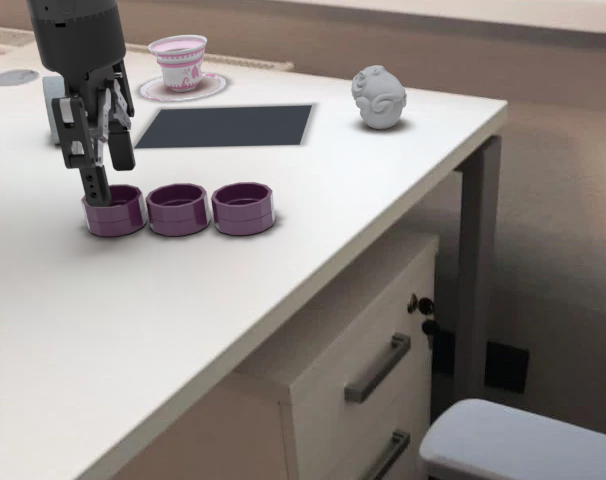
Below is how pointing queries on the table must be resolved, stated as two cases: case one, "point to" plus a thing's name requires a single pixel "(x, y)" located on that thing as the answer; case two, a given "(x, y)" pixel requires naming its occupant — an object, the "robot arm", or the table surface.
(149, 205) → the dish middle
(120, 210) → the dish left
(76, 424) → the table surface
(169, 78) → the teacup
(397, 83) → the frog figurine
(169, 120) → the mat
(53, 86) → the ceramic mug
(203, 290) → the table surface
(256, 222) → the dish right
